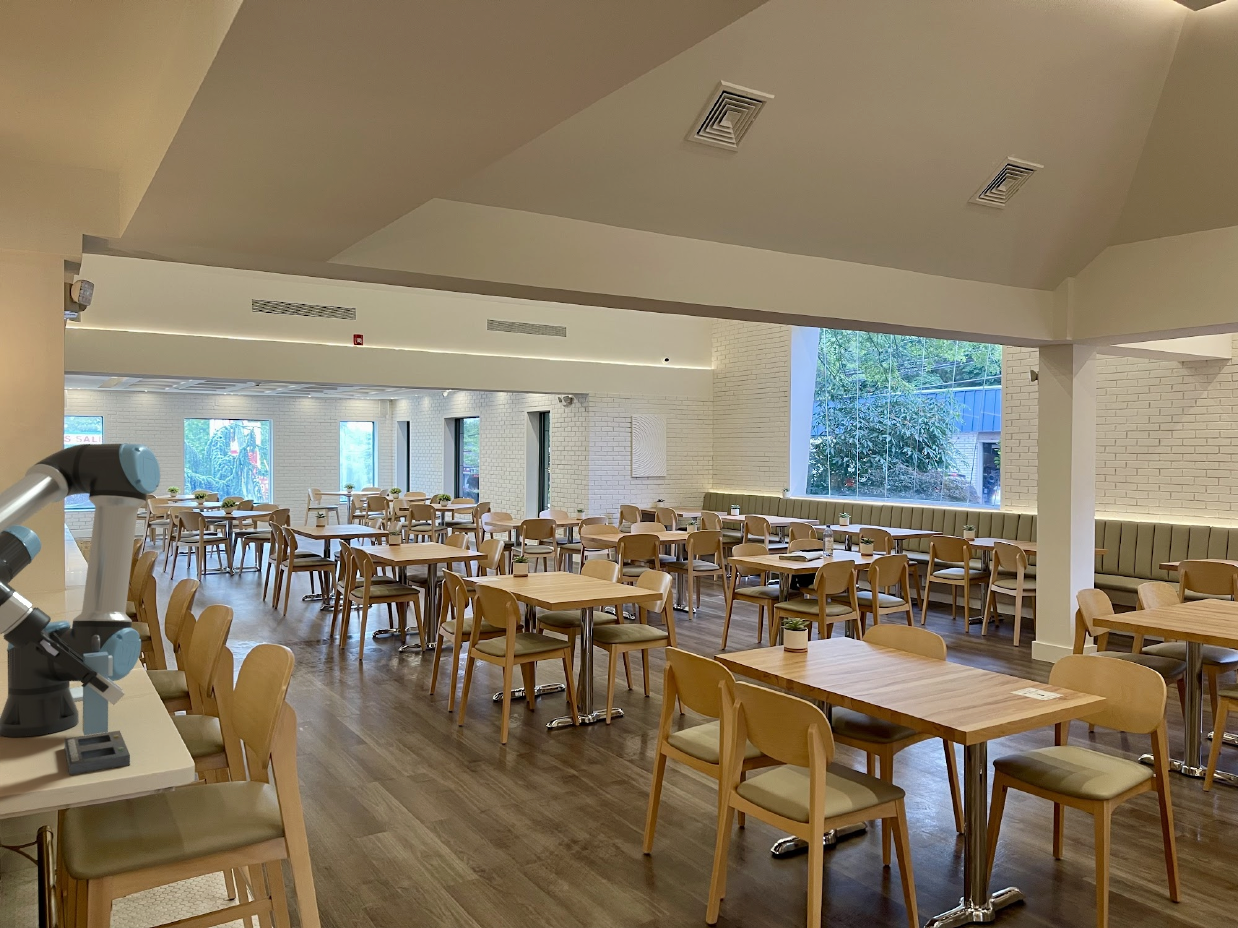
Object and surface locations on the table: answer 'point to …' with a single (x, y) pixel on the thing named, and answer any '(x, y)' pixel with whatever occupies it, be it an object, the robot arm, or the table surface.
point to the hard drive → (77, 693)
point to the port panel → (96, 752)
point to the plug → (92, 701)
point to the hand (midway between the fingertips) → (118, 696)
